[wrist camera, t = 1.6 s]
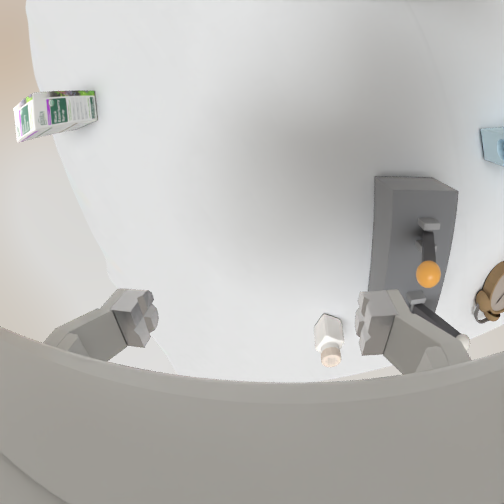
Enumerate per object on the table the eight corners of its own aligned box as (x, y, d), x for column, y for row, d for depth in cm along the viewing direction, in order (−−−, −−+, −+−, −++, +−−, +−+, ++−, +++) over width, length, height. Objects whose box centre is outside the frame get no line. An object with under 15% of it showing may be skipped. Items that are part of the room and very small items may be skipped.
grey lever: (404, 314, 35) (458, 361, 24) (407, 299, 33) (466, 346, 23) (415, 308, 35) (469, 352, 25) (419, 293, 34) (476, 337, 24)
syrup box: (98, 120, 37) (36, 130, 24) (75, 130, 38) (15, 143, 25) (95, 90, 34) (32, 91, 21) (72, 101, 35) (11, 108, 22)
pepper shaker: (323, 311, 47) (327, 350, 39) (341, 318, 47) (348, 356, 39) (312, 327, 49) (314, 365, 41) (330, 333, 49) (335, 371, 41)
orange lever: (417, 241, 31) (413, 290, 22) (419, 222, 30) (417, 266, 21) (435, 244, 29) (437, 295, 21) (437, 225, 28) (443, 271, 20)
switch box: (366, 302, 45) (378, 341, 36) (374, 176, 36) (398, 194, 27) (415, 297, 43) (434, 333, 35) (432, 177, 34) (466, 195, 25)
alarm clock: (527, 281, 35) (491, 336, 39) (514, 273, 40) (480, 326, 44) (514, 254, 33) (475, 317, 38) (499, 247, 38) (462, 306, 42)
